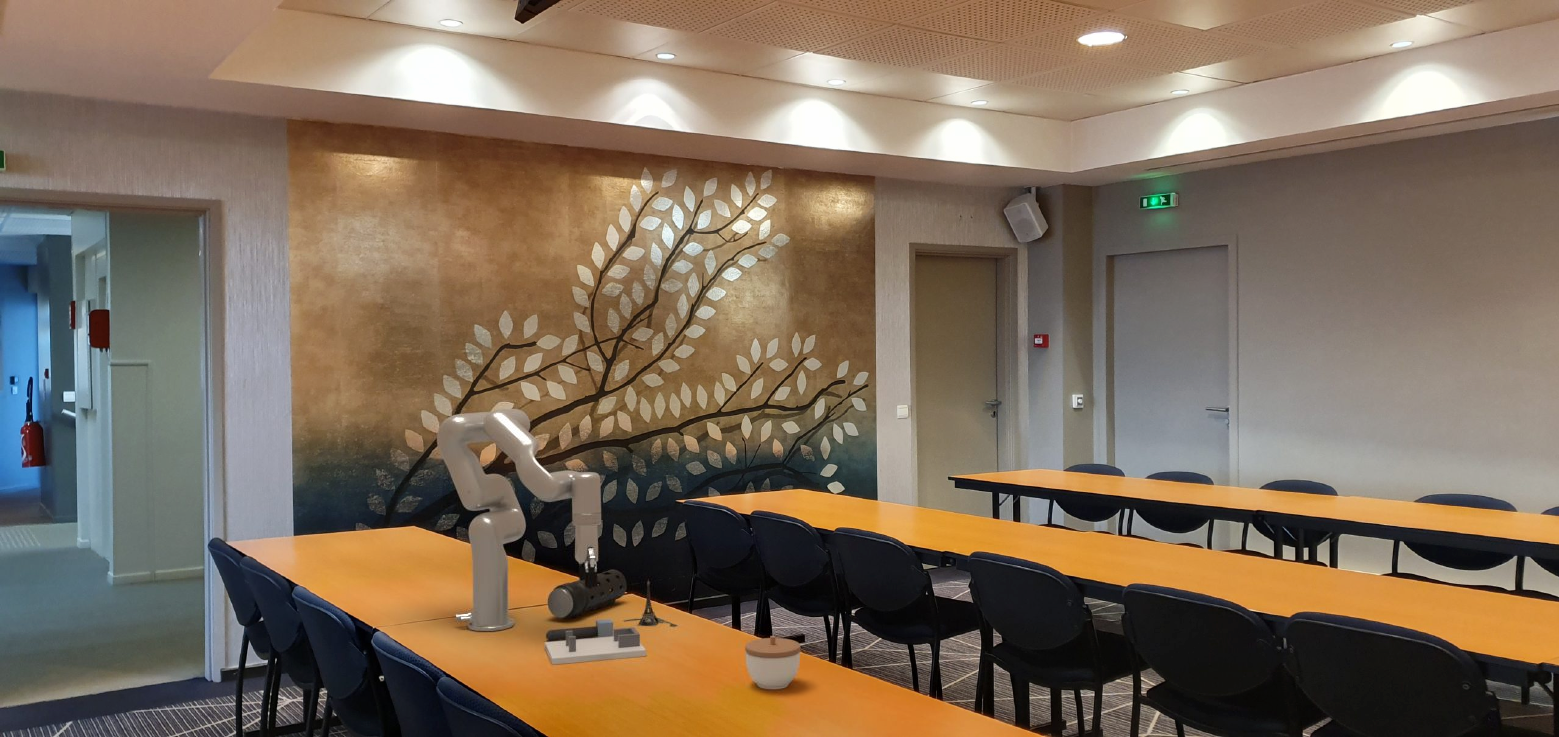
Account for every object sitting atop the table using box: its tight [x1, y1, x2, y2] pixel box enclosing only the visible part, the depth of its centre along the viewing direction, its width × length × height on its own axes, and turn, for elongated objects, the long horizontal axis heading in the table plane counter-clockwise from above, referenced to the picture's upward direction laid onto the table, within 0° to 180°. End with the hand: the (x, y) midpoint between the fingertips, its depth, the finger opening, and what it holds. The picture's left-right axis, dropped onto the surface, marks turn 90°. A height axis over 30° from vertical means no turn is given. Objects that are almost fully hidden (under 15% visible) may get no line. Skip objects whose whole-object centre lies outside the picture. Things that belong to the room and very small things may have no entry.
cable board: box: [544, 626, 647, 666], centre depth 278 cm, size 23×16×5 cm
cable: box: [545, 618, 614, 642], centre depth 292 cm, size 17×4×4 cm, turn 109°
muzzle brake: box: [547, 569, 628, 619], centre depth 322 cm, size 10×28×10 cm, turn 155°
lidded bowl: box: [744, 635, 802, 691], centre depth 250 cm, size 13×13×11 cm
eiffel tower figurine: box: [622, 580, 679, 628], centre depth 307 cm, size 15×10×13 cm
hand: (588, 583), depth 292 cm, fingers open, 9 cm apart
